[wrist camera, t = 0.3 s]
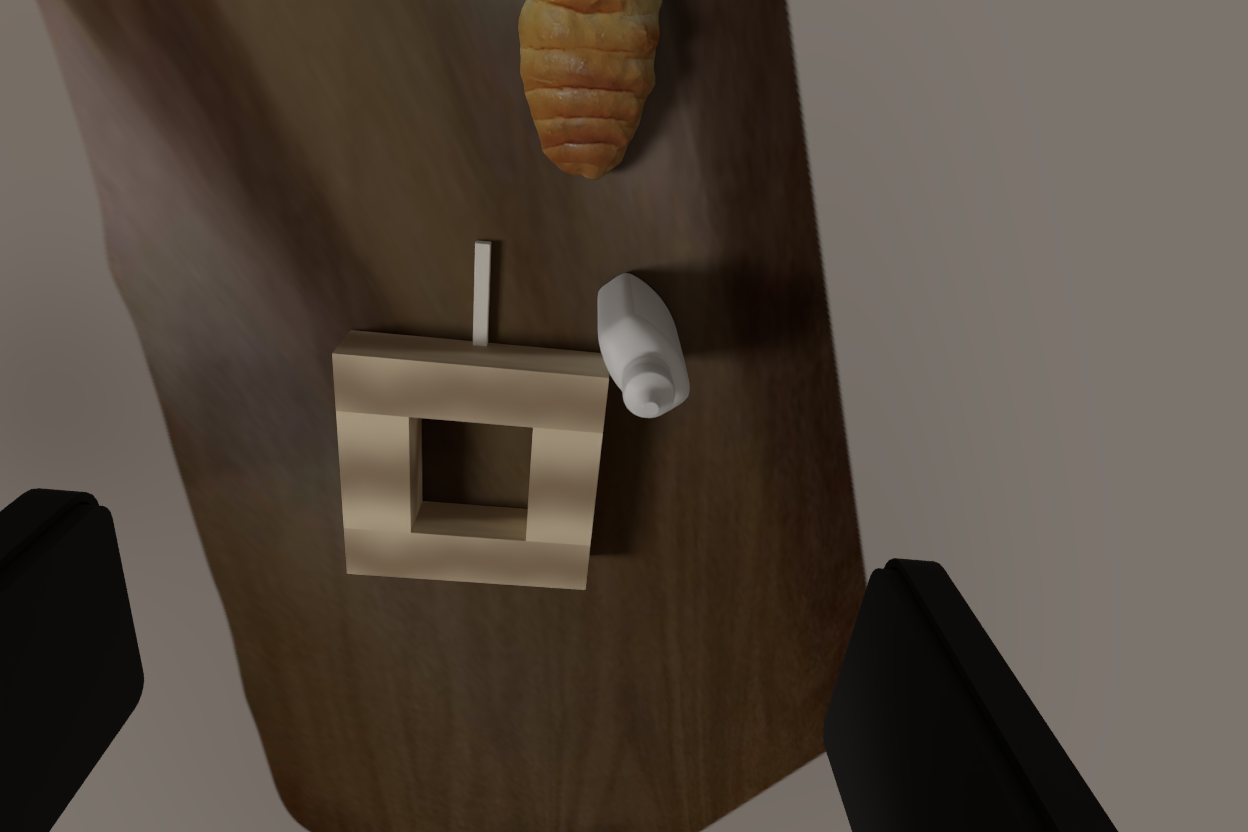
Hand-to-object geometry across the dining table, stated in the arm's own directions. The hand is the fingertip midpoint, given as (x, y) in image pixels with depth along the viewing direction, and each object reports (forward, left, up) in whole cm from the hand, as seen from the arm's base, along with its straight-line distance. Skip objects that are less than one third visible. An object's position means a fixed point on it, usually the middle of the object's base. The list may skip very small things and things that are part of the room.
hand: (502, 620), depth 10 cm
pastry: (-5, 0, -35) cm, 36 cm away
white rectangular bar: (+8, -5, -35) cm, 36 cm away
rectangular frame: (+18, -5, -35) cm, 39 cm away
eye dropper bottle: (+8, +4, -35) cm, 36 cm away
